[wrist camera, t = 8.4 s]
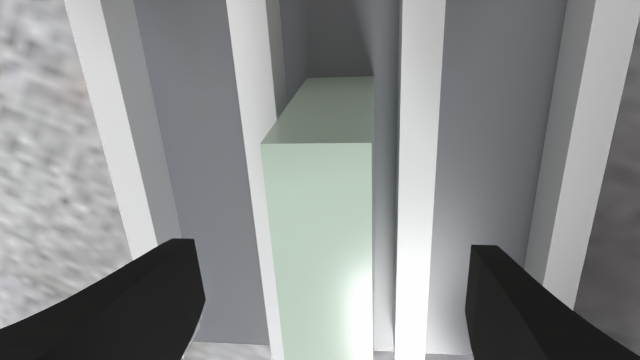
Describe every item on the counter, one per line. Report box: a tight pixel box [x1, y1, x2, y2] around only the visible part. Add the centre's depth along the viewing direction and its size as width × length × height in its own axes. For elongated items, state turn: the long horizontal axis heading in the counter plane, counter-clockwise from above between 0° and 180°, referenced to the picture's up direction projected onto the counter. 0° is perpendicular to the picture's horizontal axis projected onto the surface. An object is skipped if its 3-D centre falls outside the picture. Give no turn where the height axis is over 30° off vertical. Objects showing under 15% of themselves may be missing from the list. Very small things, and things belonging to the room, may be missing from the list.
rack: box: [64, 0, 640, 360], centre depth 17 cm, size 18×18×3 cm
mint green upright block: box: [260, 76, 375, 360], centre depth 14 cm, size 8×2×7 cm, turn 3°
